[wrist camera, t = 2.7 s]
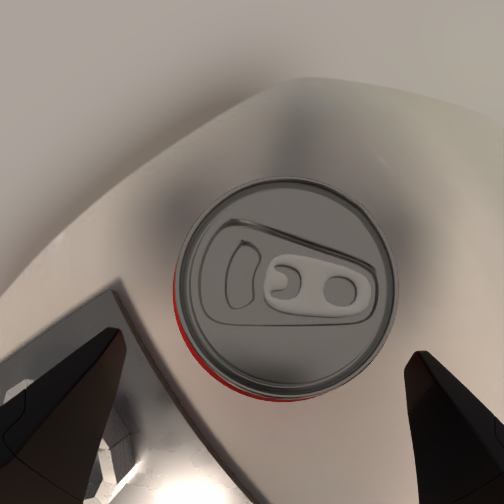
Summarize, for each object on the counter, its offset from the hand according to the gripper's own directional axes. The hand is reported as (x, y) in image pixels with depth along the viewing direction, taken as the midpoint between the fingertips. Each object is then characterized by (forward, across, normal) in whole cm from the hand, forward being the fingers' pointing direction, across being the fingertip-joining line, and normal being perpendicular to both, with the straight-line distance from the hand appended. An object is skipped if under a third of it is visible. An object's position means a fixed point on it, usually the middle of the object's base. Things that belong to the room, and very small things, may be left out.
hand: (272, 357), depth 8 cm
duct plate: (-1, +11, +14) cm, 18 cm away
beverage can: (+8, 0, +6) cm, 10 cm away
